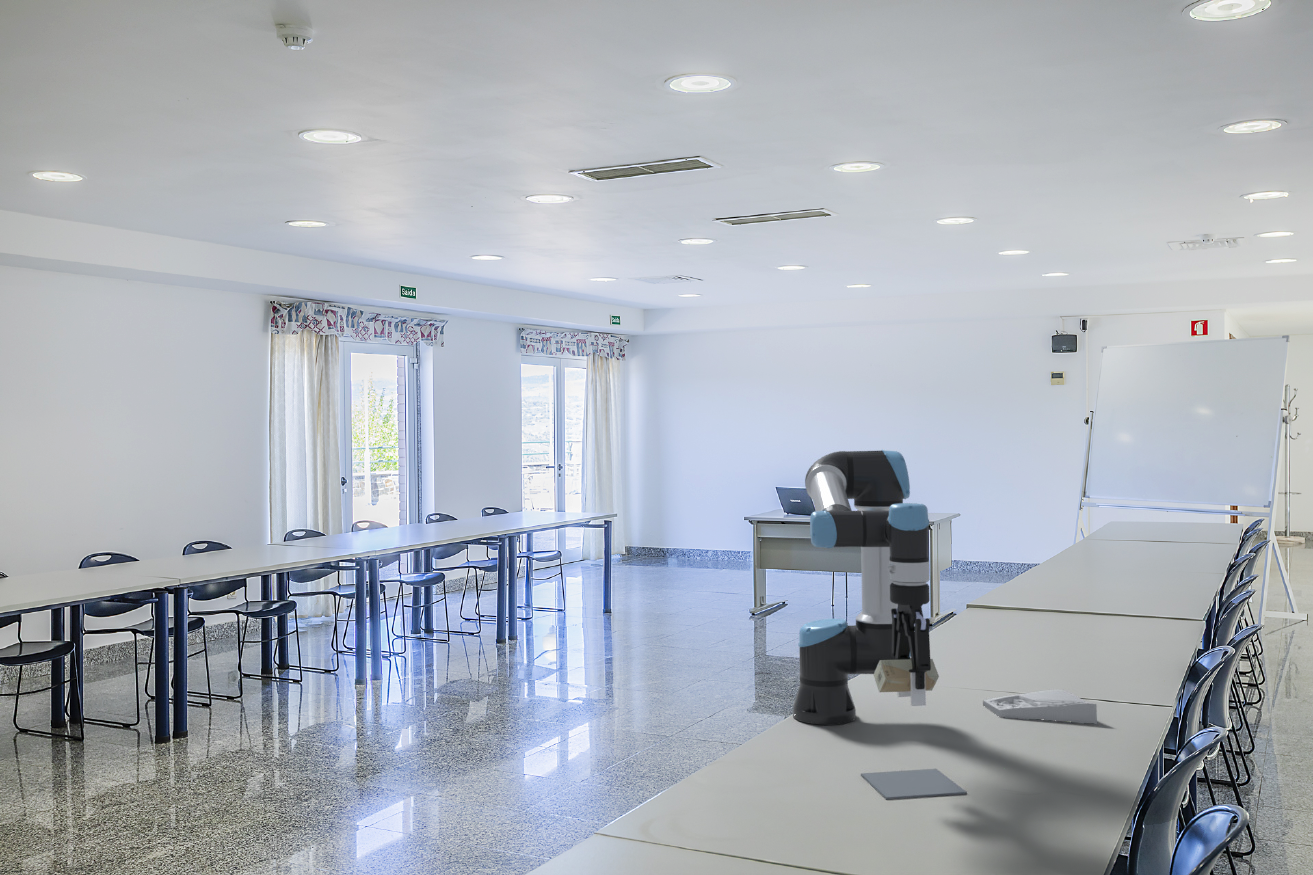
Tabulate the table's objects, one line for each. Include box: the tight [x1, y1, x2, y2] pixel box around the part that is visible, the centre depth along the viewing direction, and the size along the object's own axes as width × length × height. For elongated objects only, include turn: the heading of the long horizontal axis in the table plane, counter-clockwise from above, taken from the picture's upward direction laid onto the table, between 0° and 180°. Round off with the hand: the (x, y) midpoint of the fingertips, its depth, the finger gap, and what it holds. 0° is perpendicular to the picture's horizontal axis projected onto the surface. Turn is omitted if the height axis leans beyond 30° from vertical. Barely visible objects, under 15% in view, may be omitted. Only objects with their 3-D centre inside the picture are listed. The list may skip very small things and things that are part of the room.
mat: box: [860, 768, 968, 800], centre depth 200 cm, size 14×16×1 cm
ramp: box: [982, 689, 1098, 725], centre depth 248 cm, size 28×16×5 cm, turn 52°
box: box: [873, 658, 940, 693], centre depth 199 cm, size 5×4×11 cm
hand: (911, 700), depth 200 cm, fingers closed on box, 6 cm apart
